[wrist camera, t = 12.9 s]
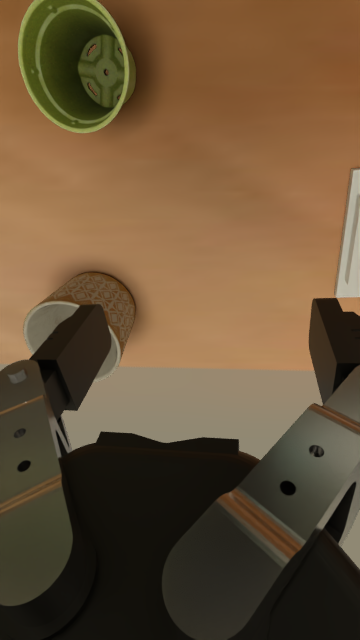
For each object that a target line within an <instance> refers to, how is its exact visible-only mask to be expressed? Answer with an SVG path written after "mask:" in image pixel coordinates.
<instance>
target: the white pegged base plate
mask: <svg viewBox="0 0 360 640" xmlns="http://www.w3.org/2000/svg"><path fill="white" fill-rule="evenodd" d="M334 295H335V297H336V298H341V297H360V168H353V169H351V172H350V180H349V187H348V195H347V202H346V210H345V217H344V225H343V232H342V239H341V247H340V254H339V262H338V269H337V277H336V284H335V292H334Z"/></svg>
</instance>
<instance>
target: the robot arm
mask: <svg viewBox="0 0 360 640" xmlns="http://www.w3.org/2000/svg"><path fill="white" fill-rule="evenodd" d="M111 343H112V340H111V334H110V331H109V327H108V324H107V320H106V317H105V313H104V310H103V307H102V306H101V305H100V304H82V305H80V306H79V307H78V309H77V310H76V311H75V312H74V314H73V315H72V316H71V317H68V318H67V319H65V320H64V321H62V322H61V323H59V324H58V326H57V327H56V328H55V329H54V330H53V332H52V333H51V334H50V335H49V336H48V337H47V340H45V341H44V342H43V343H42V345H41V346H40V347H39V348H38V349H37V351H36V352H35V353H34V354H33V355H32V357H31V358H30V359H29V360H21V361H17V362H15V363H12V364H10V365H8V366H7V367H5V368H4V369H2V370H1V371H0V640H360V569H359V568H358V567H357V566H356V565H355V564H354V562H353V561H352V560H351V559H350V557H349V556H348V555H347V554H346V553H345V552H344V551H343V549H342V548H341V546H342V544H343V543H344V541H345V539H346V537H347V536H348V534H349V532H350V530H351V528H352V526H353V523H354V521H355V519H356V517H357V514H358V512H359V510H360V316H358V315H357V314H356V313H354V312H343V311H342V309H341V306H340V304H339V302H338V300H337V298H316V299H313V301H312V309H311V319H310V330H309V350H310V355H311V359H312V363H313V367H314V370H315V374H316V378H317V382H318V386H319V390H320V394H321V398H322V402H323V406H320V405H318V404H315V403H314V404H312V405H310V406H309V407H308V408H307V409H306V410H305V412H304V413H303V414H302V415H301V416H300V417H299V418H298V419H297V421H295V423H294V424H293V425H292V426H291V427H290V428H289V429H288V430H287V432H286V433H285V434H284V435H283V436H282V437H281V438H280V439H279V440H278V442H277V443H276V444H275V445H274V446H273V447H272V448H271V449H270V451H269V452H268V453H267V454H266V455H265V456H264V457H263V458H262V459H261V460H259V459H257V458H256V457H254V456H251V455H249V454H247V453H244V452H241V451H239V440H238V439H221V438H205V437H203V438H197V439H190V440H184V441H177V442H171V443H162V442H158V441H155V440H152V439H149V438H145V437H142V436H139V435H136V434H132V433H115V432H101V433H100V435H99V438H98V439H97V442H96V443H93V444H89V445H85V446H83V447H80V448H78V449H75V450H73V451H72V448H71V444H70V441H69V438H68V434H67V431H66V427H65V424H64V421H63V419H62V416H61V414H62V413H63V411H64V410H75V411H77V410H78V408H79V407H80V405H81V403H82V401H83V399H84V397H85V396H86V394H87V392H88V390H89V388H90V386H91V385H92V383H93V381H94V379H95V377H96V375H97V374H98V372H99V370H100V368H101V366H102V364H103V363H104V361H105V359H106V357H107V355H108V353H109V352H110V349H111Z"/></svg>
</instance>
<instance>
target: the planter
mask: <svg viewBox="0 0 360 640" xmlns="http://www.w3.org/2000/svg"><path fill="white" fill-rule="evenodd" d="M82 304H100V305H101V306H102V307H103V310H104V313H105V317H106V320H107V324H108V327H109V331H110V334H111V340H112V343H111V349H110V352H109V353H108V355H107V357H106V359H105V361H104V363H103V364H102V366H101V368H100V370H99V372H98V374H97V375H96V377H95V379H94V381H93V382H97V381H101V380H104V379H105V378H108V377H109V376H111V375H112V374H113V373H114V372H115V370H116V369H117V368H118V366H119V363H120V360H121V357H122V354H123V351H124V348H125V345H126V342H127V340H128V337H129V334H130V331H131V328H132V325H133V322H134V318H135V306H134V302H133V299H132V297H131V295H130V294H129V292H128V291H127V289H126V288H125V287H124V286H123V285H122V284H121V283H120V282H118V281H117V280H115V279H114V278H112V277H110V276H107V275H104V274H101V273H83V274H80V275H78V276H76V277H74V278H72V279H71V280H70V281H68V282H67V283H66V284H65V285H63V286H62V287H61V288H59V289H58V290H57V291H55V292H54V293H53V294H51V295H50V296H49V297H47V298H46V299H45V300H43V301H42V302H41V303H39V304H38V305H37V306H35V307H34V308H33V309H32V310H31V311H30V312H29V313H28V314H27V316H26V318H25V321H24V326H23V333H24V338H25V341H26V344H27V346H28V348H29V350H30V352H31V353H32V355H33V354H34V353H35V352H36V351H37V349H38V348H39V347H40V346H41V345H42V343H43V342H44V341H45V340H47V337H48V336H49V335H50V334H51V333H52V332H53V330H54V329H55V328H56V327H57V326H58V324H59V323H61V322H62V321H64V320H65V319H67V318H68V317H71V316H72V315H73V314H74V312H75V311H76V310H77V309H78V307H79V306H80V305H82Z"/></svg>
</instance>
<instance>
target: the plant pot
mask: <svg viewBox="0 0 360 640" xmlns="http://www.w3.org/2000/svg"><path fill="white" fill-rule="evenodd" d="M93 44H96V45H97V48H96V49H94V50H93V51H92V52H91V54H89V56H87V53H88V50H89V49H90V47H91V46H92V45H93ZM118 48H121V49H122V53H123V56H122V54H121V53H120V52H119V50H118ZM18 58H19V65H20V69H21V73H22V77H23V79H24V82H25V85H26V87H27V90H28V92H29V94H30V96H31V98H32V99H33V101H34V102H35V104H36V105H37V106H38V108H39V109H40V110H41V112H42V113H43V114H44V115H45V116H46V117H47V118H49V119H50V120H51V121H52V122H53V123H55V124H56V125H58V126H59V127H61V128H63V129H66V130H69V131H72V132H77V133H90V132H94V131H97V130H99V129H101V128H103V127H105V126H106V125H107V124H109V123H110V122H111V121H112V120H113V119H114V118H115V117H116V115H117V114H118V112H119V111H120V109H121V107H122V105H123V104H124V103H126V102H127V101H128V99H129V98H130V97H131V95H132V93H133V91H134V88H135V83H136V66H135V62H134V59H133V56H132V54H131V52H130V50H129V49H128V47H127V46H126V44H125V41H124V38H123V36H122V33H121V31H120V29H119V27H118V25H117V23H116V22H115V20H114V19H113V17H112V16H111V15H110V13H109V12H108V11H107V10H106V9H105V8H104V7H103V6H102V5H101V4H100V3H99V2H98V1H97V0H34V1H33V3H32V4H31V5H30V7H29V8H28V10H27V12H26V14H25V16H24V18H23V21H22V23H21V27H20V33H19V39H18ZM105 69H107V70H108V72H109V74H108V75H107V76H106V75H105V74H104V70H105ZM88 83H90V84H91V86H92V88H93V89H94V91H95V92H96V93H97V96H95V95H94V94H93V93H92V91H90V89H89V88H88ZM120 94H121V97H120V99H117V97H118V96H119V95H120Z"/></svg>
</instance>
